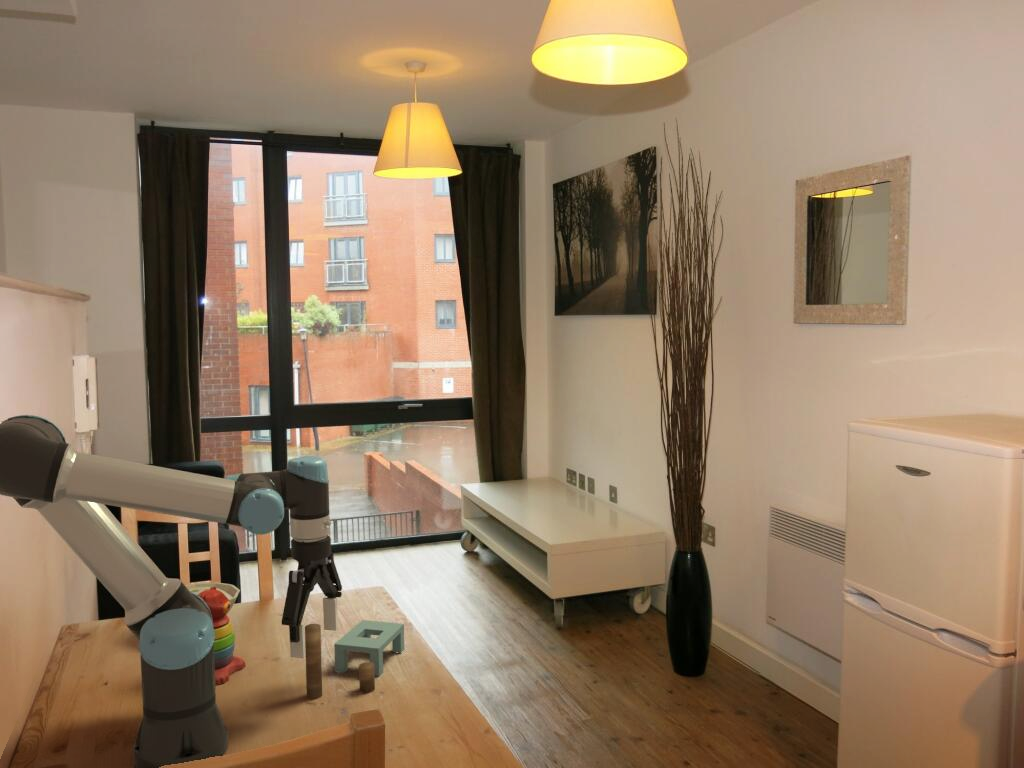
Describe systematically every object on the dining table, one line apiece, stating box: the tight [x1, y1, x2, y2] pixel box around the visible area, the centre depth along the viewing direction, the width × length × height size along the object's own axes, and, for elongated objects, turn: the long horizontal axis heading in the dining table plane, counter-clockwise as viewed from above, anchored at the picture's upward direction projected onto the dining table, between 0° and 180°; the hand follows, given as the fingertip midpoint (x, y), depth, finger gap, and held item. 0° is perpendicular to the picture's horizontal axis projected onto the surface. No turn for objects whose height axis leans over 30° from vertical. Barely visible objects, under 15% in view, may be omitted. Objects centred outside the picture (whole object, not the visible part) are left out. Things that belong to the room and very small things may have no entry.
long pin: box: [304, 623, 323, 700], centre depth 165 cm, size 3×3×14 cm
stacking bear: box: [198, 587, 246, 686], centre depth 175 cm, size 11×10×18 cm
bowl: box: [184, 581, 241, 616], centre depth 198 cm, size 19×19×10 cm
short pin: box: [358, 661, 376, 694], centre depth 168 cm, size 3×3×5 cm
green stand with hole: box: [333, 619, 405, 677], centre depth 181 cm, size 14×10×6 cm
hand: (315, 642), depth 165 cm, fingers open, 13 cm apart
